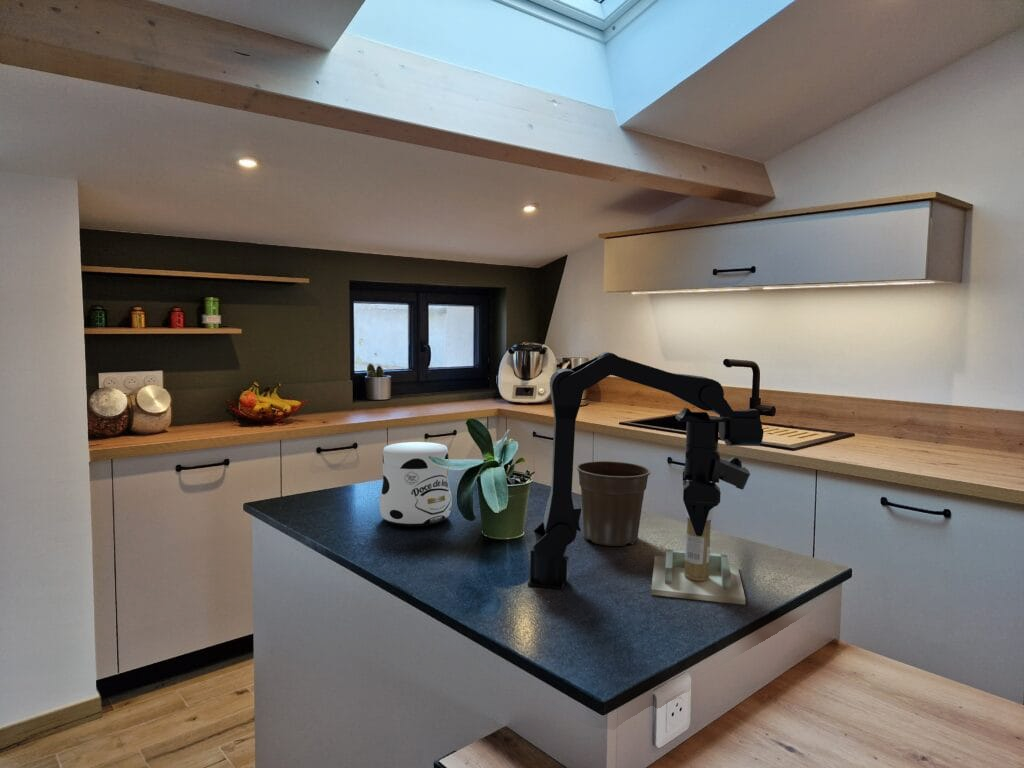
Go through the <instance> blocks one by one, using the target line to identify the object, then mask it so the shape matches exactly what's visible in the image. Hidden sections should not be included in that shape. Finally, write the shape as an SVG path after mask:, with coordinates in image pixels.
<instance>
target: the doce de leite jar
mask: <svg viewBox="0 0 1024 768" xmlns="http://www.w3.org/2000/svg"><path fill="white" fill-rule="evenodd" d="M430 455H431V456H435V457H439V458H443V459H448V460H449V450H448V446H447V445H445V444H442V443H437V442H431V441H430V442H428V441H427V442H426V441H408V442H407V441H406V442H397V443H392V444H388V445H386V446H384V447H383V453H382V487H381V491H380V495H379V498H378V499H379V500H378V501H379V502H378V505H379V506H378V507H379V513H380V515H381V518H382V519H383V520H384V521H385V522H387V523H389V524H392V525H396V526H400V527H411V528H413V527H424V526H432V525H436V524H438V523H439V524H440V523H442V522H443V521H445V520H447V518H449V516H450V514H451V512H452V507H453V506H452V505H453V497H452V493H451V488H450V485H449V468H448V469H447V468H443V467H440V466H437V465H435V464H434V463H433V462H432V461H431V460H430V459H429V458H428V456H430Z"/></svg>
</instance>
